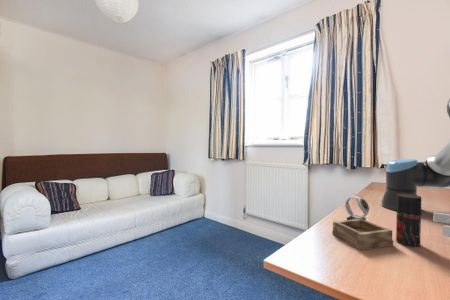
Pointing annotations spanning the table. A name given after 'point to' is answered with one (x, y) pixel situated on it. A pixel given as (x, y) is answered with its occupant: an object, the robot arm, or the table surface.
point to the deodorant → (408, 220)
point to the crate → (362, 234)
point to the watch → (362, 205)
